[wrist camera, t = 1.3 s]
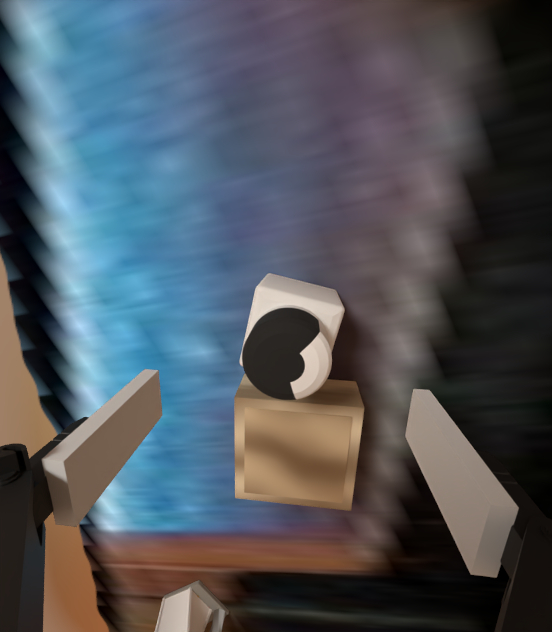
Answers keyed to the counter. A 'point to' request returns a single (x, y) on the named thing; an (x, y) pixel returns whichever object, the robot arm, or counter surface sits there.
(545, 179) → the counter surface
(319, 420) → the base block
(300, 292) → the medicine bottle
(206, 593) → the skyscraper
